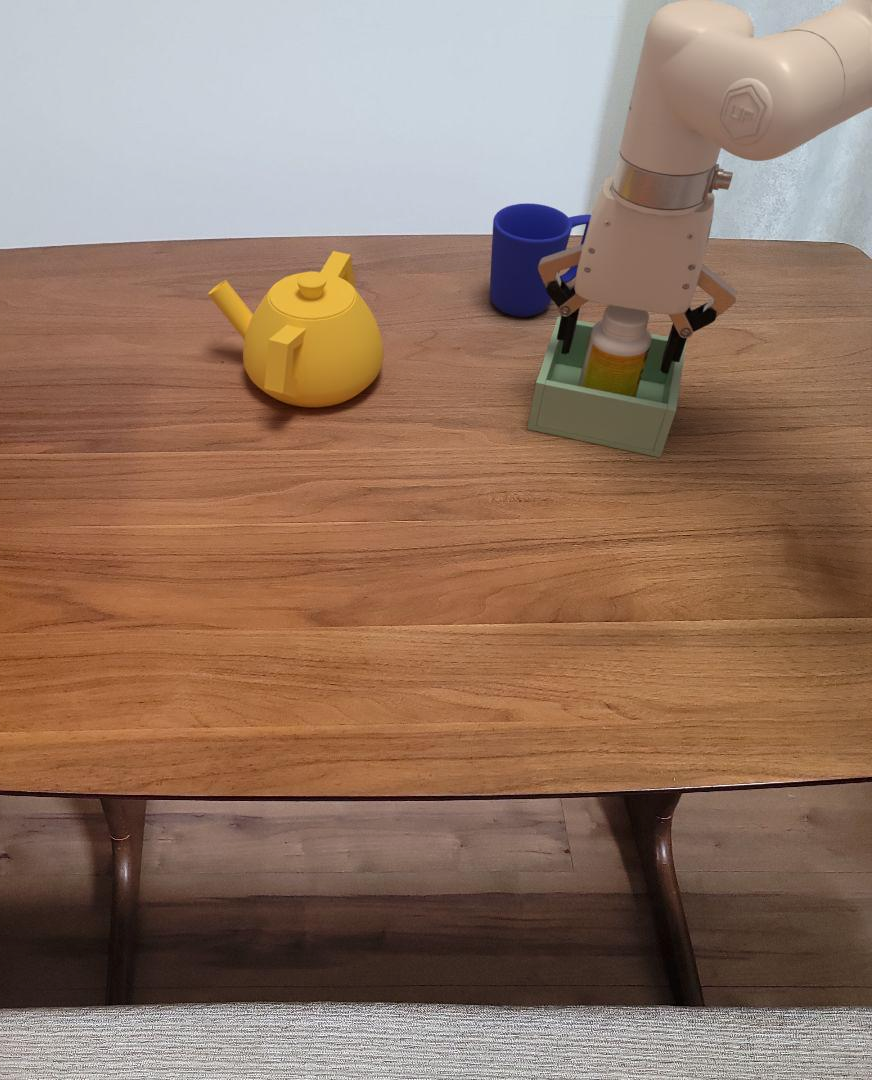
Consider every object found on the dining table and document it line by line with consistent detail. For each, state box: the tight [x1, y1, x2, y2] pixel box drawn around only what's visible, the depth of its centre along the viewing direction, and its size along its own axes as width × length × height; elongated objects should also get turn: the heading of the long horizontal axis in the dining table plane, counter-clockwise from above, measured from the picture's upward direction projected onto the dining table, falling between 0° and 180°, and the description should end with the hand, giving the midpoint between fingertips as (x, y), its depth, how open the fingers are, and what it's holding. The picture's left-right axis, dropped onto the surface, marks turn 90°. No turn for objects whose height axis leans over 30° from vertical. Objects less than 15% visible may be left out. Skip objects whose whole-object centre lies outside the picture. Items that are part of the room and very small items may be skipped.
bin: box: [526, 316, 688, 458], centre depth 90 cm, size 13×12×6 cm
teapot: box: [207, 250, 384, 408], centre depth 92 cm, size 20×18×11 cm
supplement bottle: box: [578, 305, 652, 397], centre depth 88 cm, size 6×6×10 cm
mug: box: [489, 203, 592, 318], centre depth 102 cm, size 8×12×10 cm
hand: (615, 355), depth 87 cm, fingers open, 8 cm apart
